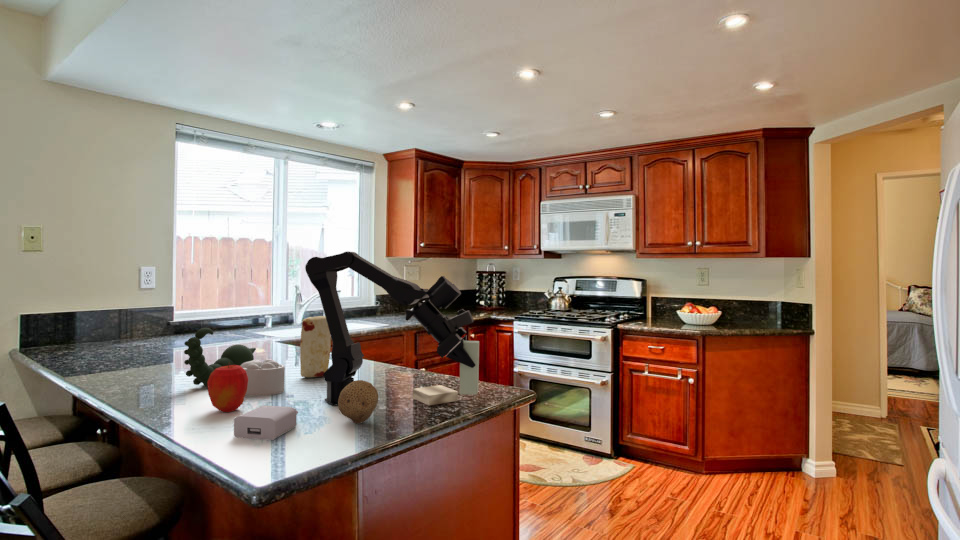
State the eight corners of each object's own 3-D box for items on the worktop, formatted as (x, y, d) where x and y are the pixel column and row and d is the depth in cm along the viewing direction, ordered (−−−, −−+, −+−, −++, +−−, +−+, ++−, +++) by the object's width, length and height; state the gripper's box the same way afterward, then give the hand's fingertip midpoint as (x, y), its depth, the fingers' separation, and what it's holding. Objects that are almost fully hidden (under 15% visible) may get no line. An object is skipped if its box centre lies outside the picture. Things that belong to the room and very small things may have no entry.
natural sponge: (368, 431, 111) (368, 385, 111) (330, 428, 113) (330, 383, 113) (383, 419, 120) (384, 377, 120) (348, 417, 122) (348, 375, 122)
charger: (309, 420, 119) (274, 441, 105) (273, 418, 121) (233, 438, 106) (310, 400, 120) (274, 418, 105) (273, 398, 121) (233, 415, 106)
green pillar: (459, 394, 129) (460, 342, 129) (461, 390, 134) (462, 340, 134) (477, 394, 129) (478, 343, 129) (478, 390, 134) (479, 340, 134)
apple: (229, 404, 132) (230, 357, 132) (256, 408, 129) (257, 360, 129) (198, 413, 123) (198, 363, 123) (225, 417, 120) (226, 366, 120)
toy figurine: (204, 398, 144) (268, 374, 167) (199, 332, 142) (265, 317, 166) (179, 395, 147) (245, 371, 171) (175, 330, 146) (242, 316, 169)
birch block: (428, 407, 134) (429, 395, 134) (412, 399, 141) (412, 388, 141) (457, 402, 139) (457, 391, 139) (440, 395, 146) (440, 385, 146)
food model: (303, 380, 161) (304, 317, 161) (296, 376, 167) (297, 315, 167) (333, 376, 167) (334, 316, 167) (325, 373, 173) (326, 314, 173)
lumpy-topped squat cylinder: (253, 386, 153) (253, 357, 153) (292, 388, 151) (292, 359, 151) (229, 394, 143) (230, 363, 143) (271, 397, 140) (271, 365, 140)
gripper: (451, 301, 122) (496, 348, 122) (459, 297, 141) (498, 338, 140) (418, 333, 123) (463, 380, 122) (430, 325, 142) (469, 366, 141)
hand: (474, 364), depth 131 cm, fingers closed on green pillar, 4 cm apart
